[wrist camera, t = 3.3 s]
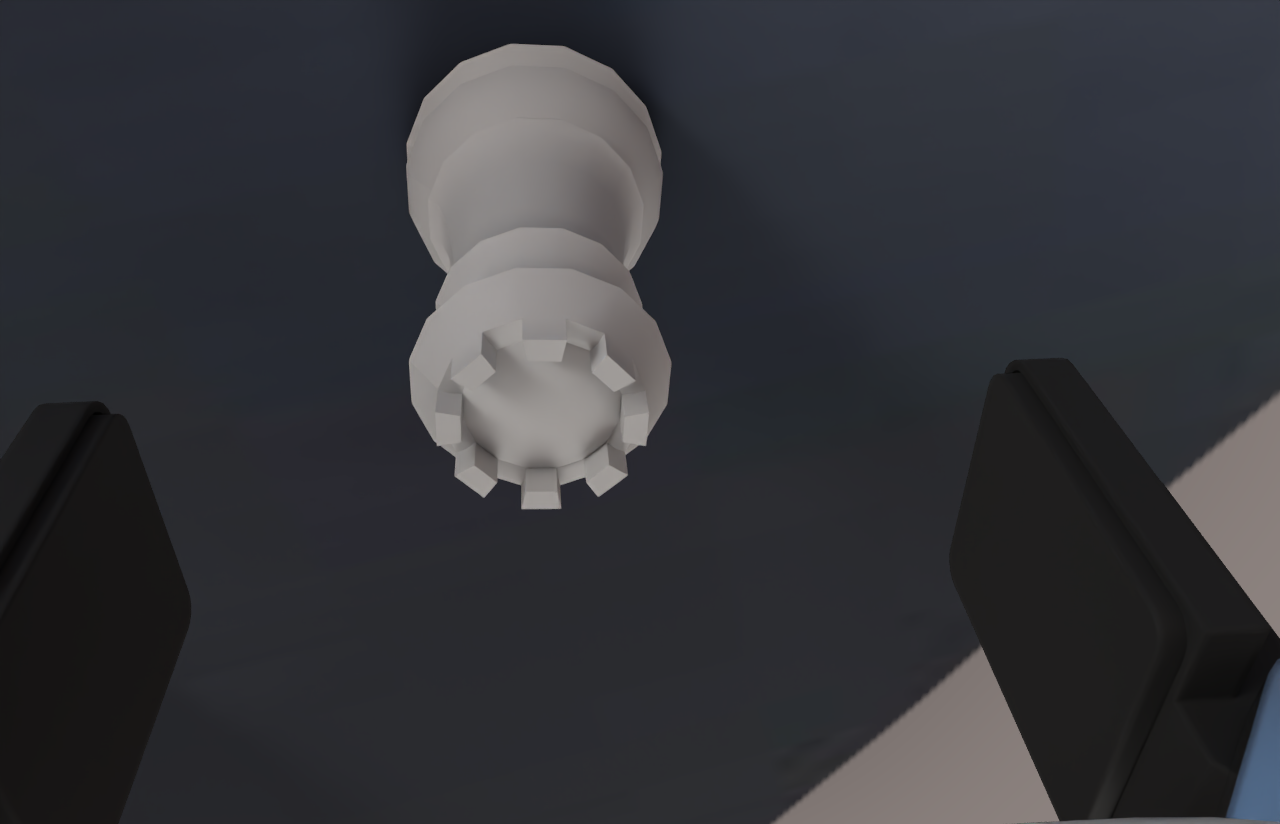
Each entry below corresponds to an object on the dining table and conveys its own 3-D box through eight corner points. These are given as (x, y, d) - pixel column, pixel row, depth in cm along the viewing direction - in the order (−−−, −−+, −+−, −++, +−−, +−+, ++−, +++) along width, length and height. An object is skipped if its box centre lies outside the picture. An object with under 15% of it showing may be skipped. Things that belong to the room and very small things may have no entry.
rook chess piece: (391, 246, 19) (328, 541, 13) (428, 4, 17) (372, 220, 11) (623, 291, 20) (671, 586, 14) (690, 68, 18) (784, 302, 12)
